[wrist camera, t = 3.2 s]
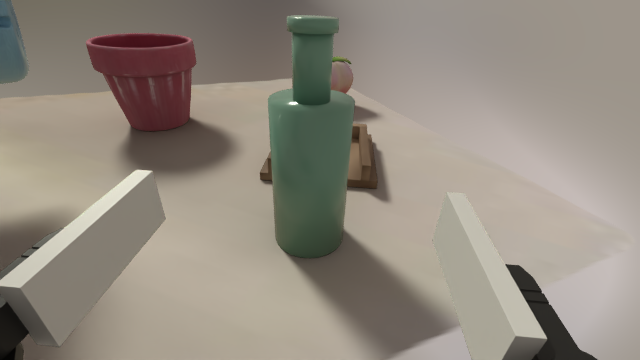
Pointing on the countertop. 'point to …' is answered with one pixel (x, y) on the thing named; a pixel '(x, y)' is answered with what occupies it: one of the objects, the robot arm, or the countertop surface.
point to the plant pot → (147, 76)
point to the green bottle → (310, 144)
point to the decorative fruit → (341, 75)
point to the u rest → (359, 164)
